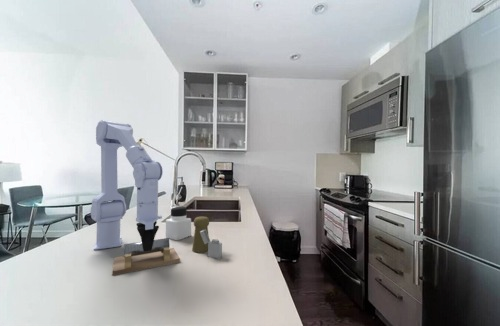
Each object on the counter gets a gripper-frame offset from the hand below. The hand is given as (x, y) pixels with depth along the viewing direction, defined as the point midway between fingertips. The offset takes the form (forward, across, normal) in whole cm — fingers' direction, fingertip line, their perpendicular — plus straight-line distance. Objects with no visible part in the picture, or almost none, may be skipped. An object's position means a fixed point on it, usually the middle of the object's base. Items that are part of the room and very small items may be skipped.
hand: (147, 248), depth 66 cm
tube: (+2, 0, 0) cm, 2 cm away
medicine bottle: (+4, +20, -13) cm, 24 cm away
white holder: (+4, -5, -18) cm, 19 cm away
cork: (+4, +2, -17) cm, 18 cm away
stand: (+4, 0, 0) cm, 4 cm away
